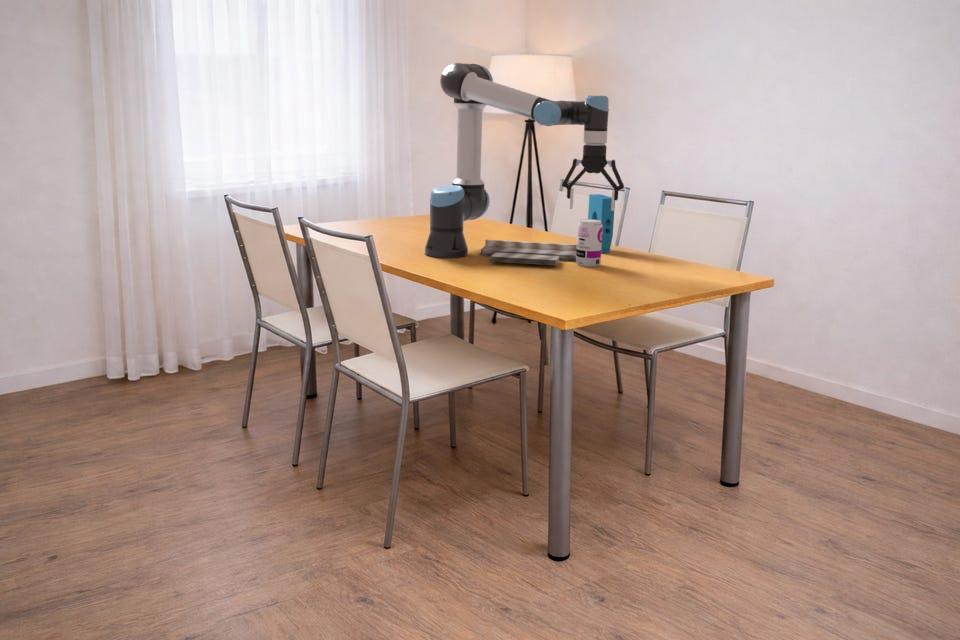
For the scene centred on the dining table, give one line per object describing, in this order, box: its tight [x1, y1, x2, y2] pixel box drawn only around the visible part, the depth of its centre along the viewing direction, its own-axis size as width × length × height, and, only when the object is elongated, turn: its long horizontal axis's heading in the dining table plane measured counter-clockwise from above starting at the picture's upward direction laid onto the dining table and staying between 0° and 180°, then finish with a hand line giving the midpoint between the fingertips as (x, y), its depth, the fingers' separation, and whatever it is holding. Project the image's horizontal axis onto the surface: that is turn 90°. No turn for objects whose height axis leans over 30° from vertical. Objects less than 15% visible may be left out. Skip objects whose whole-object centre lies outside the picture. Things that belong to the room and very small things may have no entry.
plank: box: [489, 253, 560, 266], centre depth 291 cm, size 22×12×2 cm, turn 79°
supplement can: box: [575, 218, 603, 268], centre depth 289 cm, size 8×8×15 cm
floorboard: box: [479, 239, 577, 263], centre depth 303 cm, size 36×11×4 cm, turn 79°
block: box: [587, 193, 616, 254], centre depth 315 cm, size 12×5×20 cm, turn 20°
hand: (591, 209), depth 286 cm, fingers open, 13 cm apart
